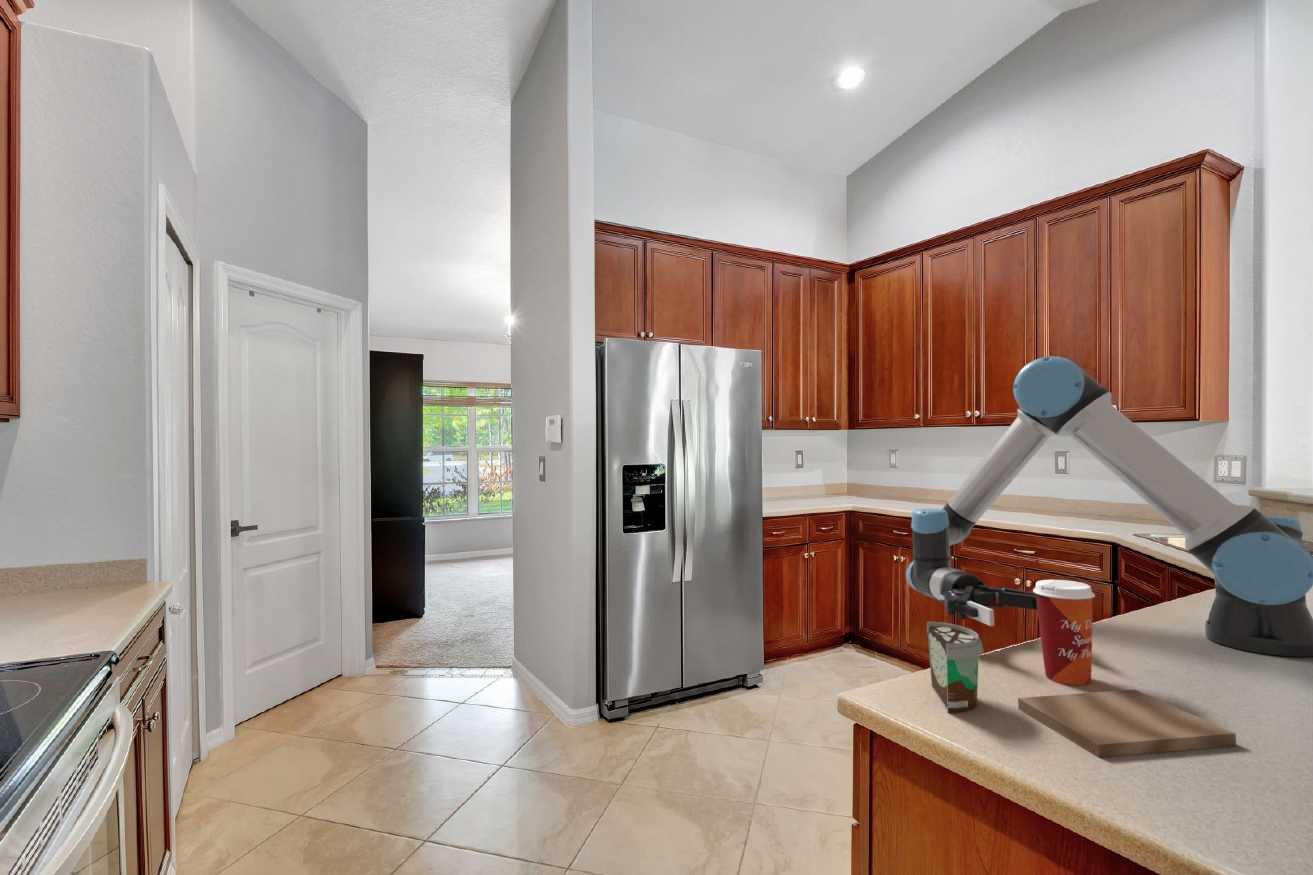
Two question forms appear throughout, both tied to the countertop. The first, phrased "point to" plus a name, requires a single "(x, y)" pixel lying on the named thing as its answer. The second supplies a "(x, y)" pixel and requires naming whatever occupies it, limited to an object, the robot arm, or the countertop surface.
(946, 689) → the food container
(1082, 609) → the coffee cup
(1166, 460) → the robot arm
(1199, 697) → the countertop surface
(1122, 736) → the walnut board
